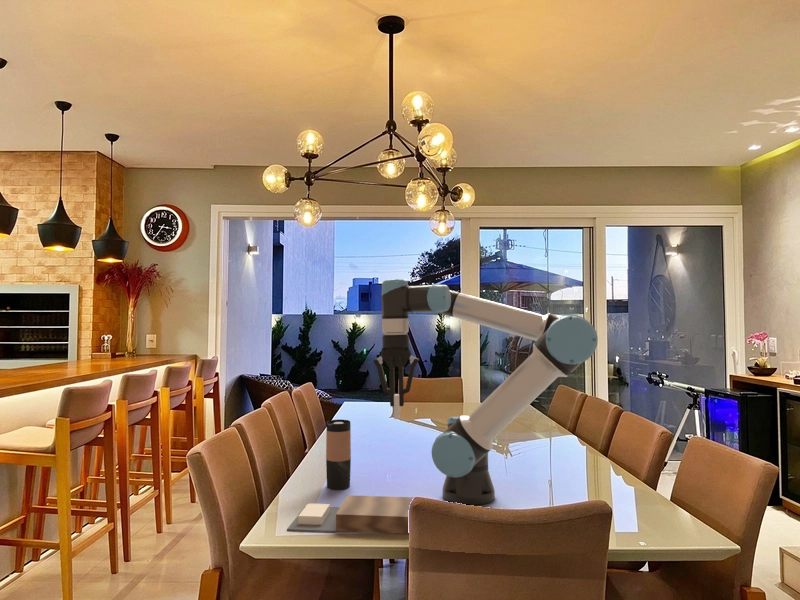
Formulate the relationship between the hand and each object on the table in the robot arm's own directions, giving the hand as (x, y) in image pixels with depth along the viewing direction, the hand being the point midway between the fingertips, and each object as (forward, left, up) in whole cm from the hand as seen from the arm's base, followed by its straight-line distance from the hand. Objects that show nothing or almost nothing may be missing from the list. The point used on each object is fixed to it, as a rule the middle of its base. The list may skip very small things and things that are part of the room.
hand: (397, 418), depth 145 cm
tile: (+20, +12, -22) cm, 32 cm away
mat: (+19, +12, -24) cm, 33 cm away
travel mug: (+20, -15, -24) cm, 35 cm away
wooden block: (+3, +12, -24) cm, 27 cm away
